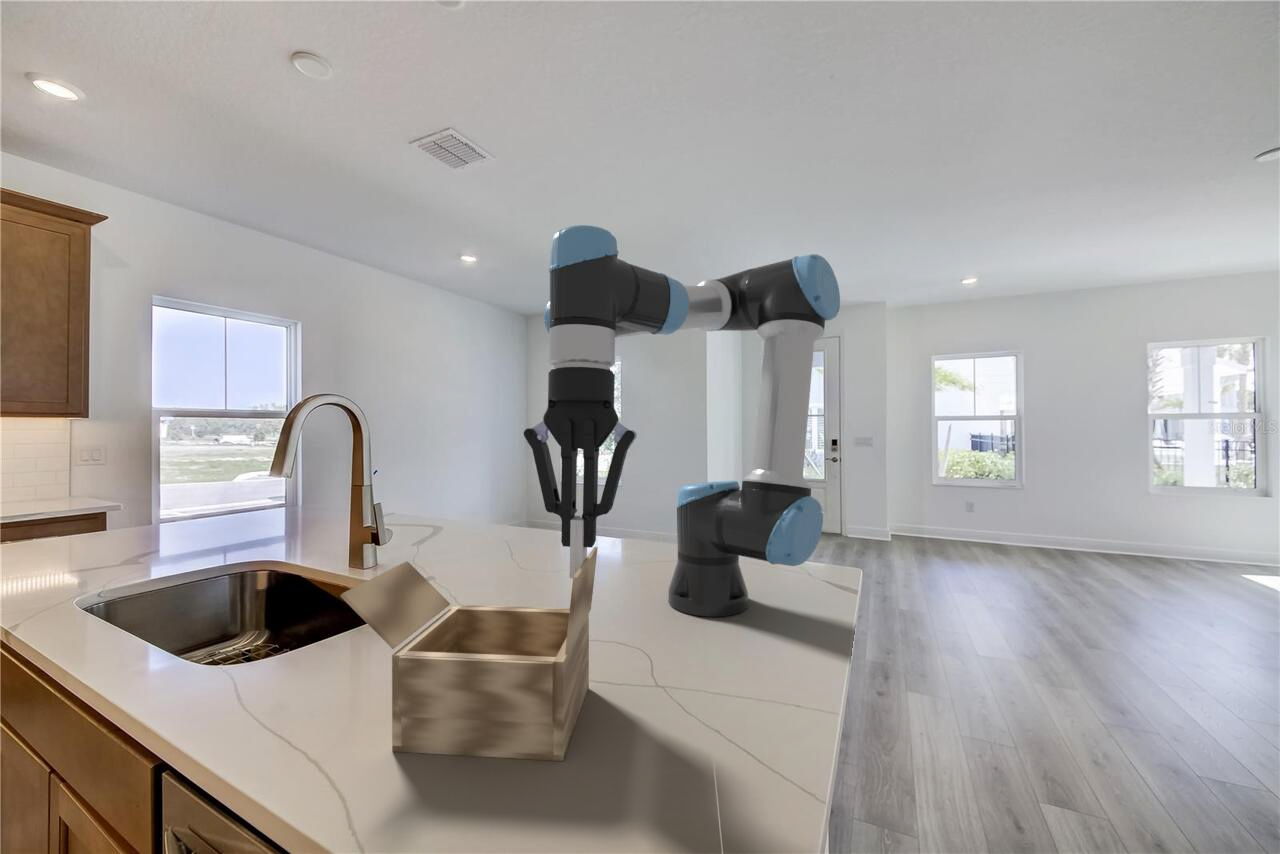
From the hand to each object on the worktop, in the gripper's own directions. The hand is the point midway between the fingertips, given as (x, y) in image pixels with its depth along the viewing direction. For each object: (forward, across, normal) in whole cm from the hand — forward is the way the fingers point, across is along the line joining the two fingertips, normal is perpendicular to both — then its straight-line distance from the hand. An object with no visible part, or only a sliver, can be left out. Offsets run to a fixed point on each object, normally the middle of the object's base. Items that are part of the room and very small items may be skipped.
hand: (578, 574), depth 57 cm
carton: (+17, +9, 0) cm, 19 cm away
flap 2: (+2, 0, 0) cm, 2 cm away
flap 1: (+4, +21, 0) cm, 21 cm away
